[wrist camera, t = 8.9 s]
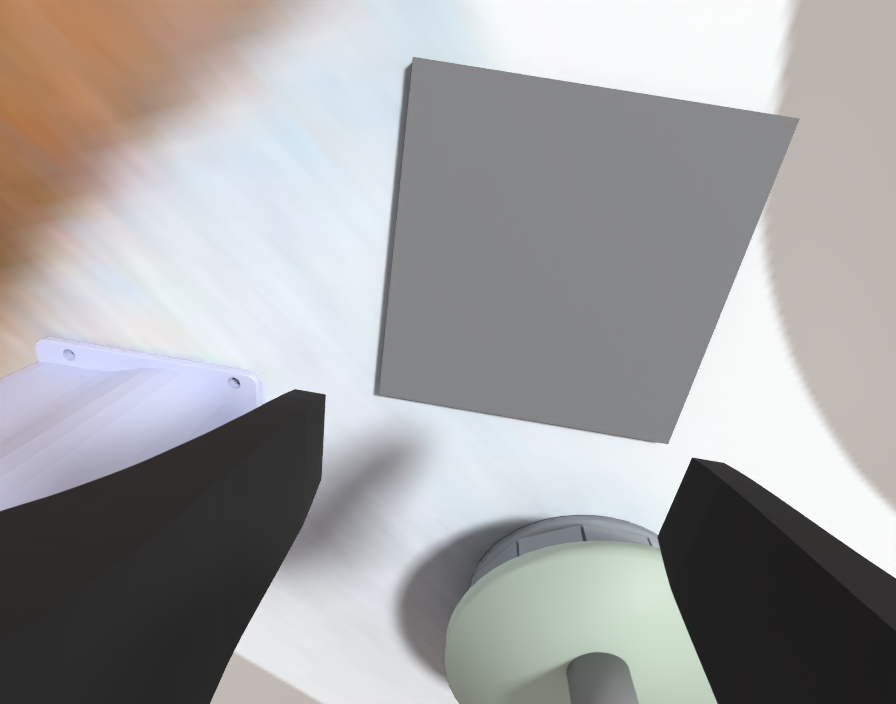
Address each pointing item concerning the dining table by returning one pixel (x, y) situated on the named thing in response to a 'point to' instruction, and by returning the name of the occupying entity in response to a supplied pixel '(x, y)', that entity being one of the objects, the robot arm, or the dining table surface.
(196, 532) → the robot arm
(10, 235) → the dining table surface
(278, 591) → the dining table surface
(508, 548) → the bowl
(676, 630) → the lid
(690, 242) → the mat
